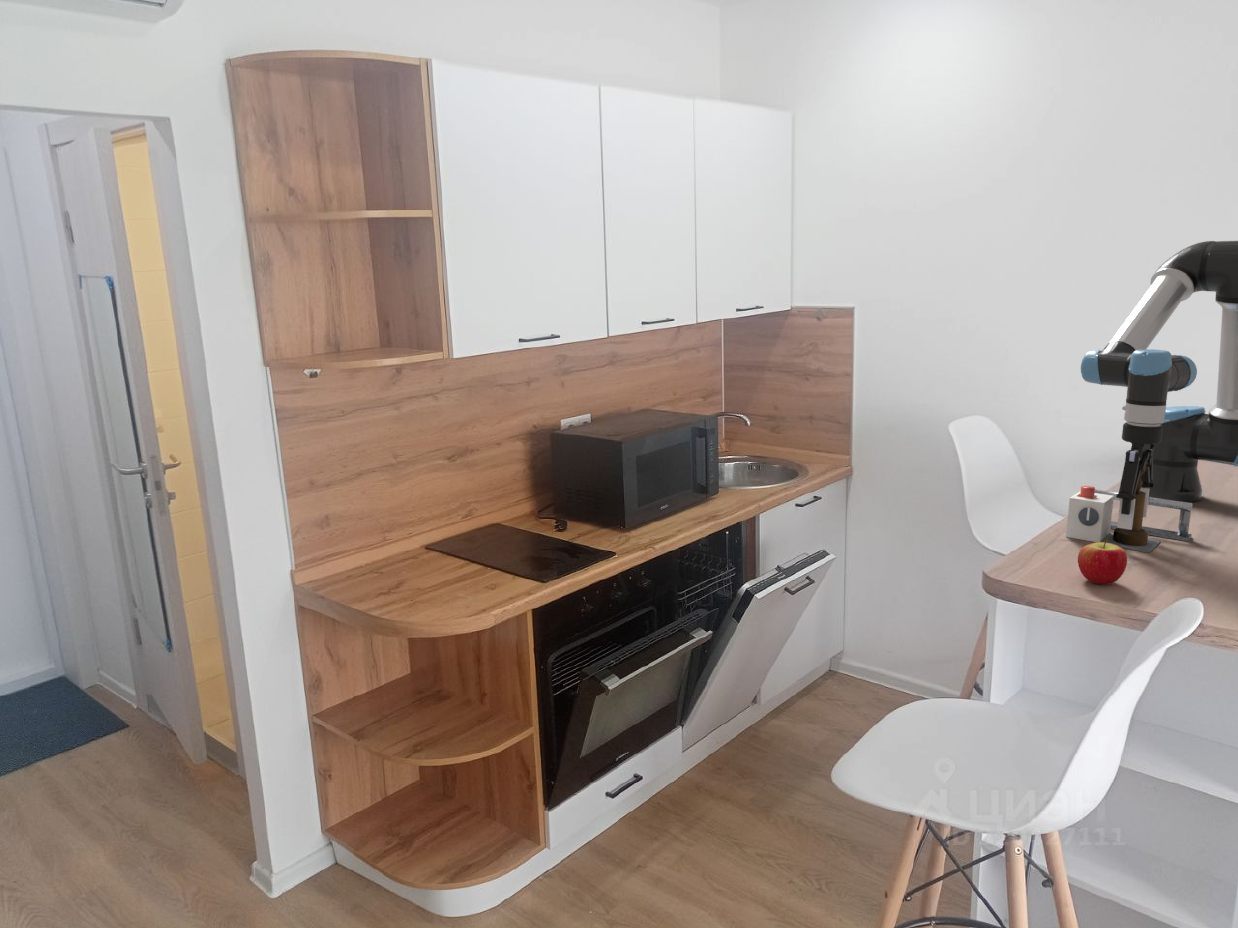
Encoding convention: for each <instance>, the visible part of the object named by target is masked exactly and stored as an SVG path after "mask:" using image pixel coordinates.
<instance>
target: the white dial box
mask: <svg viewBox="0 0 1238 928" xmlns="http://www.w3.org/2000/svg"><path fill="white" fill-rule="evenodd" d="M1080 491H1081V490H1079V491H1077V493H1074V494H1073V495H1072V496H1070V497H1069V500H1068V501H1069V502H1068V512H1067V513H1068V514H1067V521H1066V522H1067V523H1066V531H1065V533H1066V534H1065V537H1066V538H1069V539H1071V538H1072V539H1077V540H1081V541H1082V540H1083V541H1087V542H1091V543H1092V542H1093V543H1096V542H1100V541H1101V540H1102V539H1103V538H1105V537H1106V536H1107V535H1108V534H1110V533H1111V529H1110V527H1111V521H1112V518H1113V517H1112V516H1113V508H1114V507H1113V506H1114V501H1115V500H1114V496H1112V495H1105V494H1099V493H1094V499H1091V498H1084V497H1080Z"/></svg>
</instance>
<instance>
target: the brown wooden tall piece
mask: <svg viewBox="0 0 1238 928" xmlns="http://www.w3.org/2000/svg"><path fill="white" fill-rule="evenodd" d="M1145 471H1146V465H1145V469H1144V471H1143V472H1141V474H1140V478H1139V481H1138V485H1137V489H1136V493H1135V498H1134V499H1136V500H1135V508H1134V517H1133V526H1132V530H1129V529H1123V528H1115V529H1113V533H1114V534H1113V540H1114V541H1116V542H1118V543H1122V544H1127V545H1146V544H1147V541H1148V539H1149V535H1148V533H1147V532H1146V531H1145V530H1144V529H1143V528H1142V526H1143V521H1144V520H1143V518H1144V517H1143V512H1144V503H1145V496H1146V493H1145V492H1143V491H1140V489H1141V487H1142V484H1143V481H1141V476H1142V475H1143V473H1144V472H1145ZM1127 493H1129V492H1127Z"/></svg>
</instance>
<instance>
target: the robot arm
mask: <svg viewBox="0 0 1238 928" xmlns="http://www.w3.org/2000/svg"><path fill="white" fill-rule="evenodd" d="M1149 283H1150V286H1149V287H1148V288H1147V290H1146V292H1145V293H1144V294H1143V296H1142V297H1141V299H1139V301H1138V302H1137V303H1136V305H1135V306H1134V307H1133V309H1132V310H1131V312H1130V313H1129V314H1128V316H1127V317H1126V319H1125V320H1124V321H1123V323H1122V324H1121V325H1120V327H1119V328H1118V329H1117V331H1116V332H1115V334H1114V335H1113V336H1112V338H1111V339H1110V340H1109V341H1108V343H1107V344H1106V345H1105V347H1103V349H1102V350H1100V349H1096V350H1090V351H1087V352H1086V353H1085V354H1084V355H1083V357H1082V360H1081V362H1080V363H1081V364H1080V374H1081V377H1082V379H1083V381H1085V382H1087V383H1091V384H1097V385H1101V386H1103V385H1104V386H1114V387H1126V388H1127V389H1126V399H1125V405H1123V406H1122V408H1121V409H1122V410H1123V411H1125V412H1124V417H1123V420H1124V421H1125V422H1124V423H1123V424H1122V430H1121V433H1122V434H1121V439H1122V440H1123V441H1124V442H1127V443H1130V444H1131V446H1130V447H1131V448H1130V449H1128V450H1126V452H1125V458H1124V465H1123V471H1122V475H1121V479H1120V485H1119V489H1118V494H1117V495H1116V498H1120V501H1119V509H1118V517H1117V522H1118V525H1117V528H1123V529H1129V530H1132V526H1133V517H1134V508H1135V500H1136V499H1134V498H1135V493H1136V489H1137V485H1138V481H1139V478H1140V474H1141V472H1143V471H1144V469H1145V465H1146V471H1145V472H1144V473H1143V475H1142V476H1141V481H1143V484H1142V487H1141V489H1140V491H1143V492H1145V493H1146V496H1145V503H1144V512H1143V518H1147V513H1148V506H1149V505H1148V498H1149V497H1153V498H1160V499H1167V500H1174V501H1181V502H1187V503H1194V502H1198V501H1200V500H1202V496H1203V488H1202V483H1201V480H1200V475H1199V471H1198V465H1199V461H1205V462H1211V463H1218V464H1223V465H1229V466H1233V467H1238V240H1219V241H1216V240H1207V241H1200V242H1197V243H1195V244H1192V245H1188V246H1187V247H1185V248H1183V249H1181V250H1179V251H1178V252H1176V253H1175V254H1173V255H1172V256H1171V257H1168V259H1166V260H1165V261H1164V262H1163V263H1162V264H1160V266H1159V267H1158V268H1157V269H1156V271H1155V272H1154V274H1153V275H1152V276H1151V277H1150V282H1149ZM1196 292H1198V293H1199V292H1215V302H1216V303H1217V304H1218V305H1219V306H1220V307H1221V308H1222V309H1221V310H1222V311H1221V323H1220V324H1221V326H1220V343H1219V357H1218V373H1217V375H1218V376H1217V389H1216V390H1217V392H1216V404H1214V405H1213V406H1211V408H1209V409H1208V413H1206V410H1205V409H1206V408H1205V407H1203V406H1198V405H1183V406H1182V405H1180V406H1178V405H1177V406H1176V405H1175V406H1167V400H1168V394H1169V393H1170V392H1178V391H1181V390H1184V389H1186V388H1187V387H1190V386H1191V385H1192V384H1193V383H1194V381H1195V380H1196V377H1197V373H1198V370H1197V365H1196V363H1195V362H1194V361H1193V360H1192V358H1190V357H1188V356H1187V355H1181V354H1179V355H1177V354H1171V352H1170V351H1169V350H1165V349H1149V348H1148V347H1149V346H1150V345H1151V343H1152V342H1153V341H1154V340H1155V338H1156V336H1157V335H1158V334H1159V332H1161V330H1162V328H1163V327H1164V326H1165V324H1166V323H1167V322H1168V320H1169V319H1170V318H1171V316H1172V314H1173V313H1174V312H1175V310H1176V309H1177V308H1178V306H1179V305H1180V303H1181V302H1183V301H1186V300H1188V299H1189V298H1190V297H1191V296H1192V295H1193V293H1196ZM1127 492H1129V493H1127Z"/></svg>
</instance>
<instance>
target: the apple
mask: <svg viewBox="0 0 1238 928" xmlns="http://www.w3.org/2000/svg"><path fill="white" fill-rule="evenodd" d="M1109 537H1110V535H1109V536H1108V537H1107V539H1106V541H1107V540H1108V538H1109ZM1106 541H1105V543H1104V542H1093V543H1092V542H1091V543H1089V544H1087V545H1084V546H1083V547H1081V549H1079V552H1078V555H1077V564H1078V569H1079V570H1080V573H1081V574H1082V576H1083V577H1084V578H1085V579H1086V580H1087V581H1089V582H1090V583H1093V584H1096V585H1103V586H1106V585H1110V584H1113V583H1115V582H1117V581H1118V580H1119V579H1120V578H1121V577H1122V576H1123V574H1124V573H1125V571H1126V568H1127V565H1128V556H1127V552H1126V549H1124V548H1121V547H1119V546H1117V545H1114V544H1110V543H1106Z"/></svg>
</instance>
